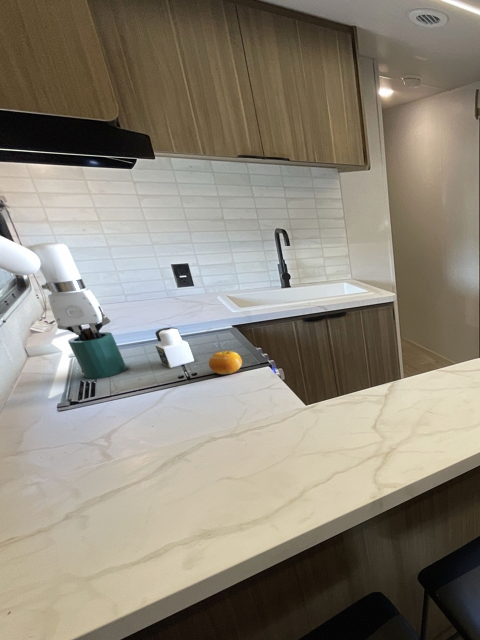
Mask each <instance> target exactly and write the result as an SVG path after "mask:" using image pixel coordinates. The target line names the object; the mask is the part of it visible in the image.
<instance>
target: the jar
mask: <svg viewBox="0 0 480 640" xmlns="http://www.w3.org/2000/svg"><path fill="white" fill-rule="evenodd" d="M99 332H100V331H99ZM100 334H101V338H97V339H93V340H87V341H81V340H80V338H79V336H78V335H77V336H74V337H72V338H70V339H69V340H67V343H68V344H69V346H70V348H71V351H72V353H73V355H74V357H75V359H76V361H77V363H78V365H79V367H80V369H81V371H82V373H83V375H84V377H85V379H102V378H107V377H110V376H111V377H112V376H115V375H118V374H121V373H123V372H124V371H126V370H127V366H126V363H125V361H124V359H123V356H122V354H121V351H120V349H119V347H118V345H117V342H116V340H115V337H114V336H113V334H112V332H108V331H106V332H105V331H102V332H100Z"/></svg>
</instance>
